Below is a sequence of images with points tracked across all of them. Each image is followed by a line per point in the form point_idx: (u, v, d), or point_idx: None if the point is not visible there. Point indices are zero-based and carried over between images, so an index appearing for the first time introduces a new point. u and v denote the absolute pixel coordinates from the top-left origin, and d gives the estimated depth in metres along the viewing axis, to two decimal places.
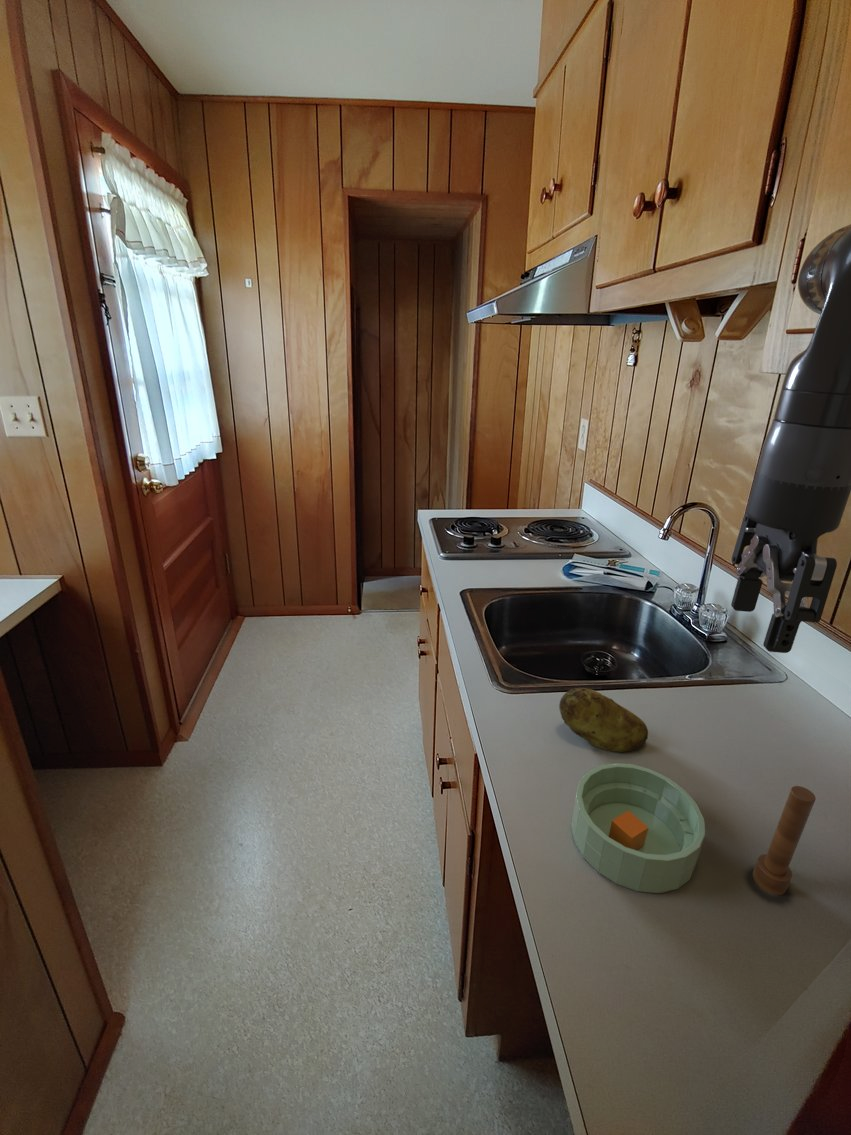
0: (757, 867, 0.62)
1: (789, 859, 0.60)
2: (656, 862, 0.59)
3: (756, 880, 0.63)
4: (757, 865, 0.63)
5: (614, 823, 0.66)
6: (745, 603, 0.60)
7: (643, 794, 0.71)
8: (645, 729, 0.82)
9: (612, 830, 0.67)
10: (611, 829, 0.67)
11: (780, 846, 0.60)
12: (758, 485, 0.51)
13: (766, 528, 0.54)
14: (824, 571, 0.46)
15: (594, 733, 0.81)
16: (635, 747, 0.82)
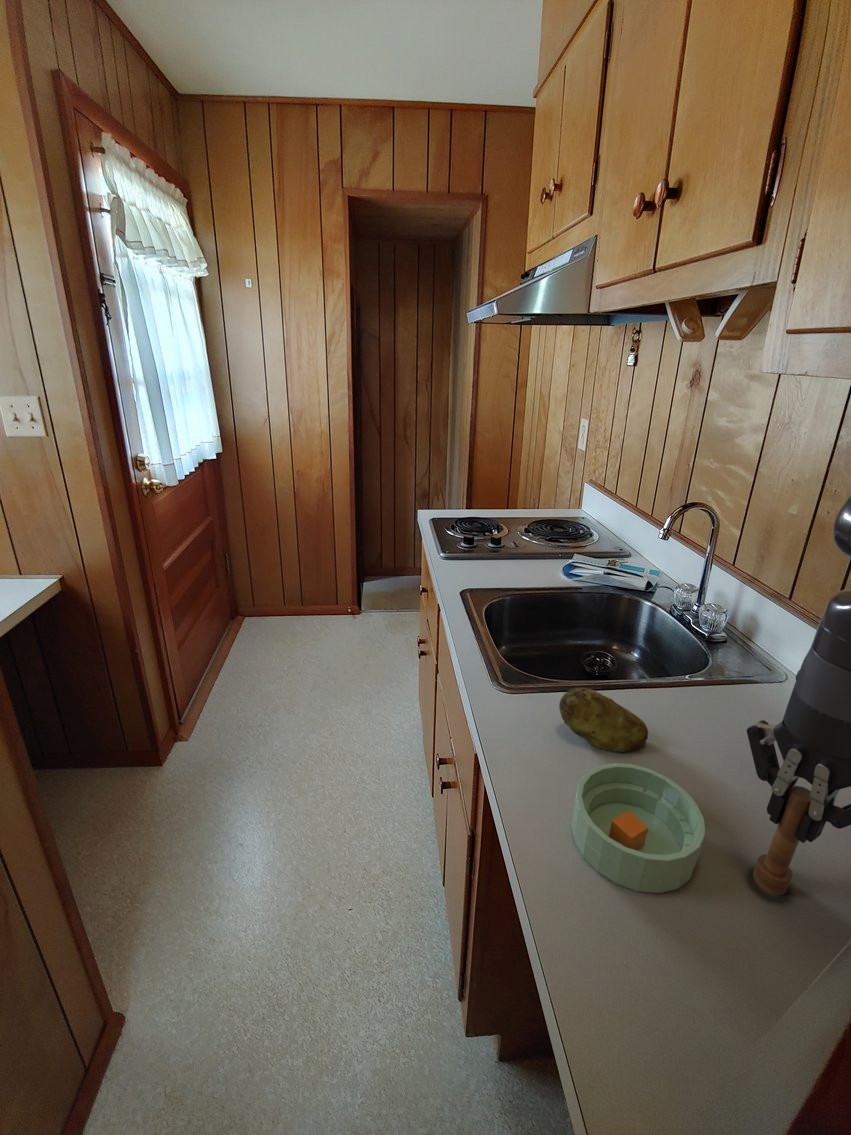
0: (757, 867, 0.62)
1: (789, 859, 0.60)
2: (656, 862, 0.59)
3: (756, 880, 0.63)
4: (757, 865, 0.63)
5: (614, 823, 0.66)
6: None
7: (643, 794, 0.71)
8: (645, 729, 0.82)
9: (612, 830, 0.67)
10: (611, 829, 0.67)
11: (780, 846, 0.60)
12: (822, 722, 0.51)
13: None
14: None
15: (594, 733, 0.81)
16: (635, 747, 0.82)
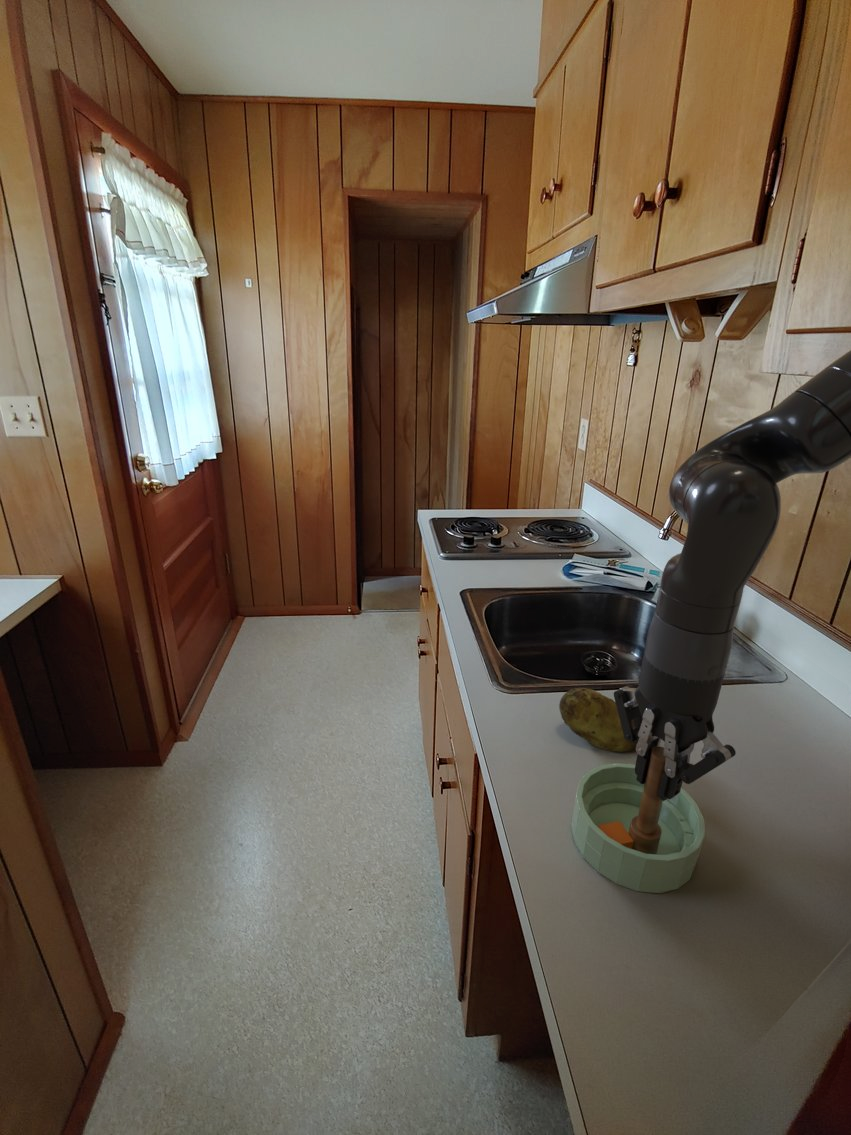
0: (630, 827, 0.65)
1: (655, 818, 0.62)
2: (656, 862, 0.59)
3: None
4: (630, 825, 0.65)
5: (599, 828, 0.65)
6: None
7: None
8: None
9: None
10: None
11: (646, 805, 0.62)
12: (661, 680, 0.53)
13: None
14: None
15: (594, 733, 0.81)
16: (635, 747, 0.82)
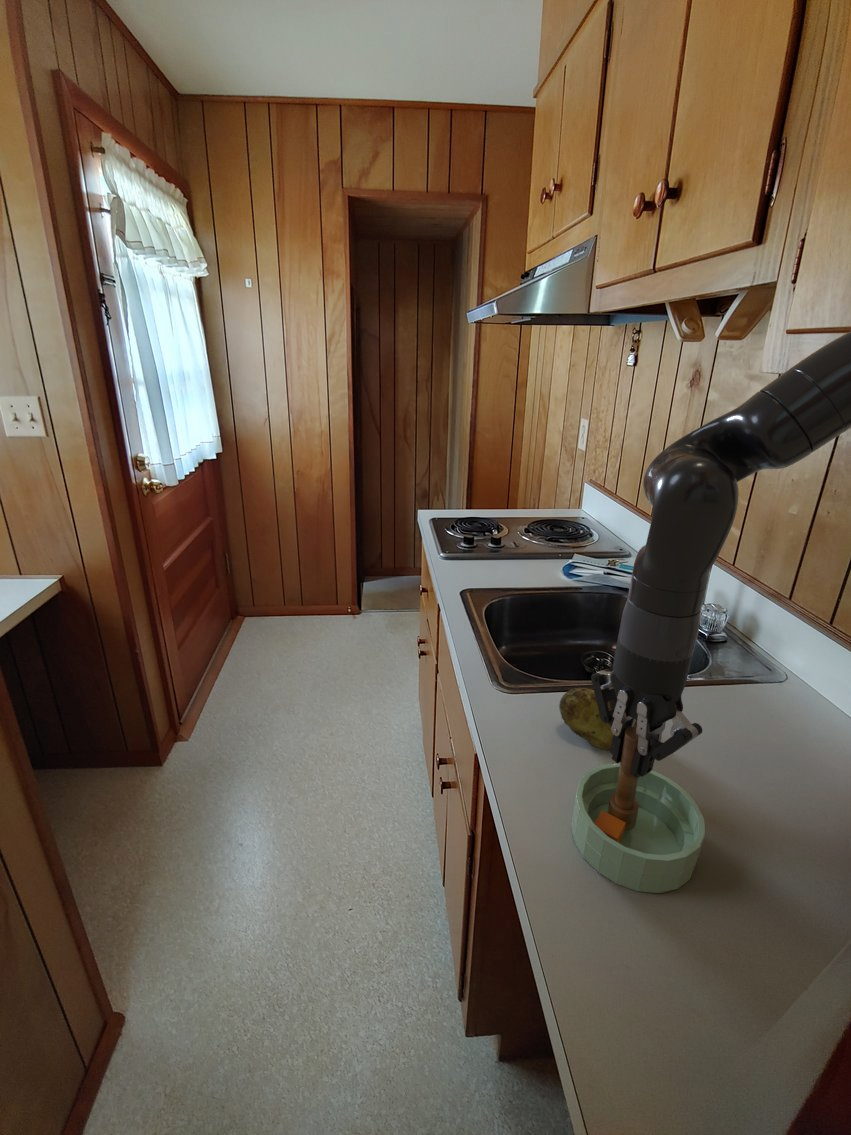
0: (609, 803, 0.68)
1: (631, 794, 0.66)
2: (656, 862, 0.59)
3: None
4: (609, 801, 0.68)
5: None
6: None
7: (643, 794, 0.71)
8: None
9: None
10: None
11: (622, 782, 0.65)
12: (633, 661, 0.57)
13: None
14: (693, 738, 0.57)
15: (594, 733, 0.81)
16: None
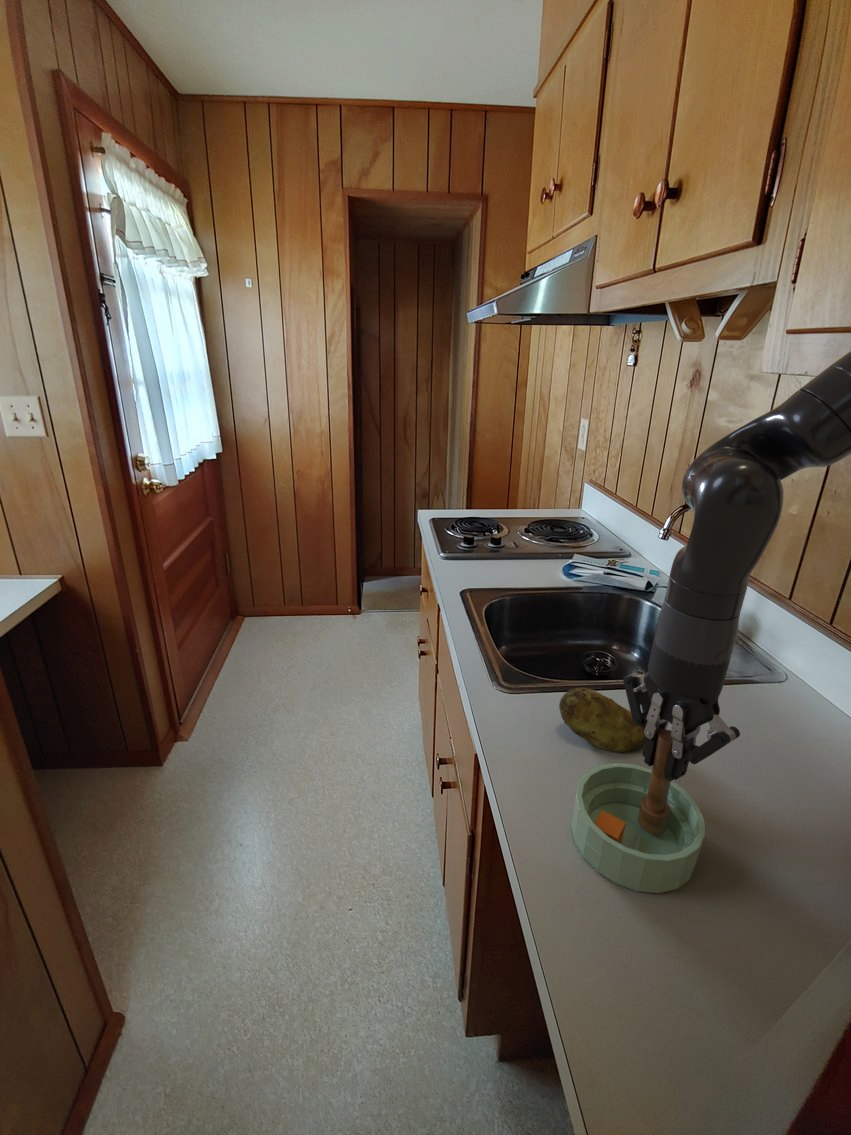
0: (640, 806, 0.68)
1: (664, 797, 0.65)
2: (656, 862, 0.59)
3: (639, 817, 0.68)
4: (640, 804, 0.68)
5: None
6: None
7: (643, 794, 0.71)
8: None
9: None
10: None
11: (654, 785, 0.65)
12: (670, 664, 0.56)
13: None
14: (731, 741, 0.57)
15: (594, 733, 0.81)
16: (635, 747, 0.82)
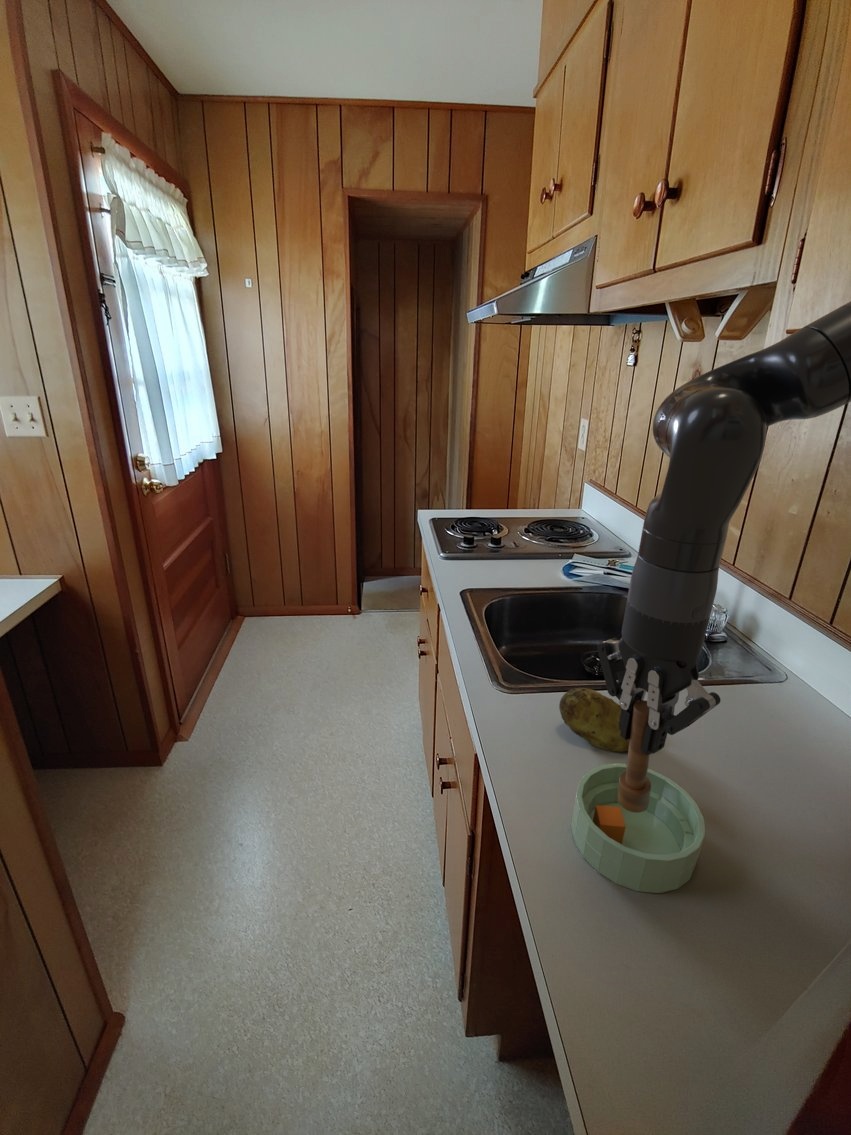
0: (619, 782, 0.63)
1: (642, 773, 0.61)
2: (656, 862, 0.59)
3: (618, 794, 0.64)
4: (619, 780, 0.63)
5: (603, 825, 0.66)
6: None
7: None
8: None
9: None
10: None
11: (631, 760, 0.60)
12: (644, 624, 0.51)
13: None
14: (710, 708, 0.52)
15: (594, 733, 0.81)
16: None
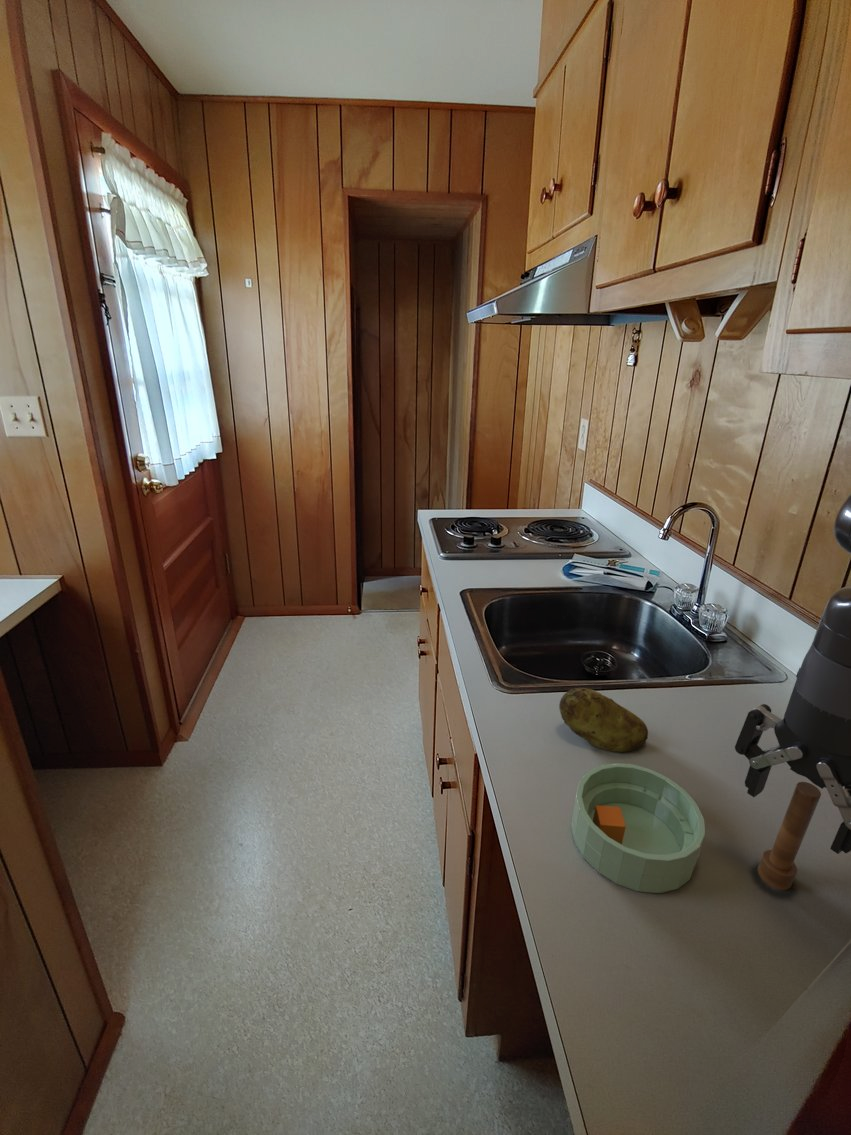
0: (762, 861, 0.63)
1: (793, 854, 0.61)
2: (656, 862, 0.59)
3: (760, 874, 0.63)
4: (762, 859, 0.63)
5: (603, 825, 0.66)
6: (759, 788, 0.62)
7: (643, 794, 0.71)
8: (645, 729, 0.82)
9: None
10: None
11: (784, 840, 0.60)
12: (823, 720, 0.51)
13: None
14: None
15: (594, 733, 0.81)
16: (635, 747, 0.82)
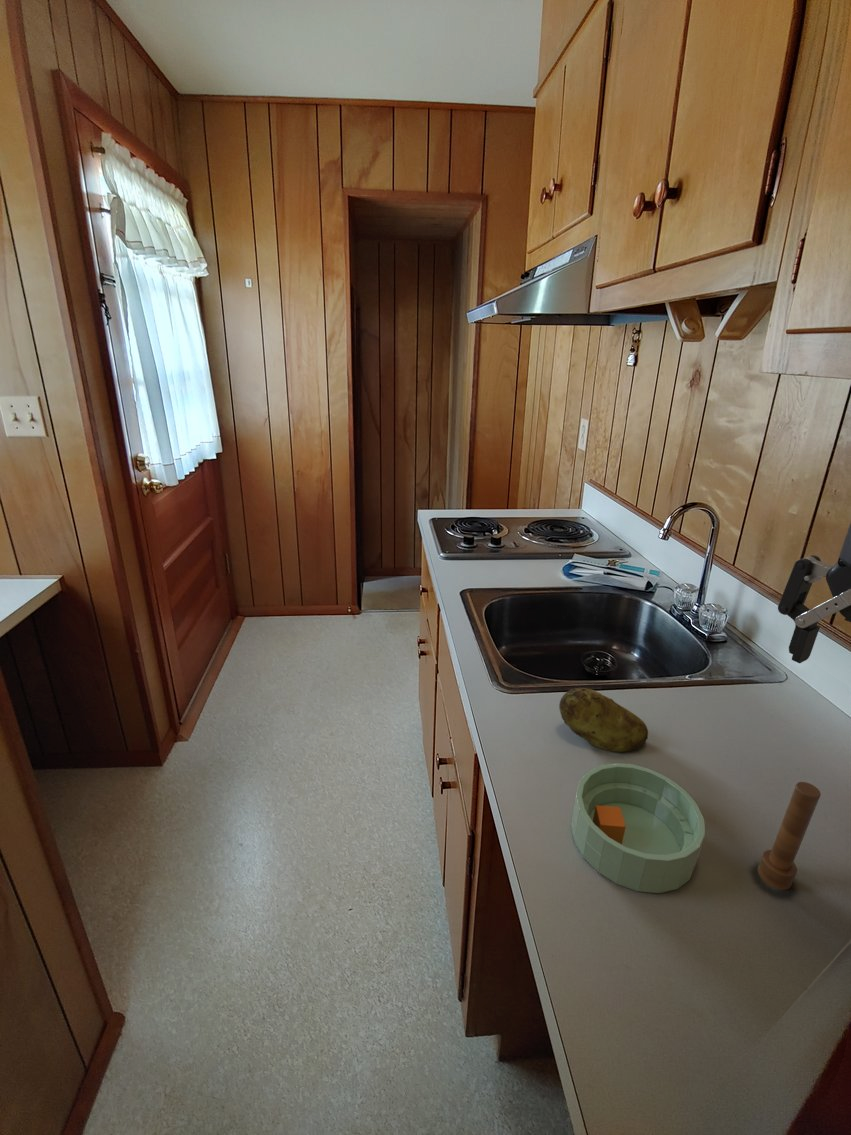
0: (762, 861, 0.63)
1: (793, 854, 0.61)
2: (656, 862, 0.59)
3: (760, 874, 0.63)
4: (762, 859, 0.63)
5: (603, 825, 0.66)
6: (806, 653, 0.55)
7: (643, 794, 0.71)
8: (645, 729, 0.82)
9: None
10: None
11: (784, 840, 0.60)
12: None
13: None
14: None
15: (594, 733, 0.81)
16: (635, 747, 0.82)
